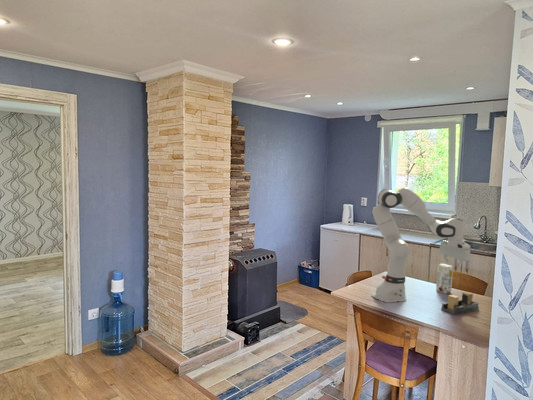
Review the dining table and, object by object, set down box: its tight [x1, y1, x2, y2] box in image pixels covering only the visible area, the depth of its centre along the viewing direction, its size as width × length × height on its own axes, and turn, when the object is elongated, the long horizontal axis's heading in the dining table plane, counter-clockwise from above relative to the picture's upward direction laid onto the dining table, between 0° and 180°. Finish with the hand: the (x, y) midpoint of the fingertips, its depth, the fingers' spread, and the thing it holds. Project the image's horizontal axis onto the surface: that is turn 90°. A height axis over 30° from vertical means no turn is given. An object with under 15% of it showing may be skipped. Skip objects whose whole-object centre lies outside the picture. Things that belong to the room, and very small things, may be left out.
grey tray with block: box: [440, 294, 480, 316], centre depth 223 cm, size 22×9×10 cm, turn 116°
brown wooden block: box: [461, 291, 474, 306], centre depth 225 cm, size 5×4×8 cm
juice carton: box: [435, 262, 454, 294], centre depth 254 cm, size 8×9×19 cm
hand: (452, 264), depth 235 cm, fingers open, 8 cm apart
